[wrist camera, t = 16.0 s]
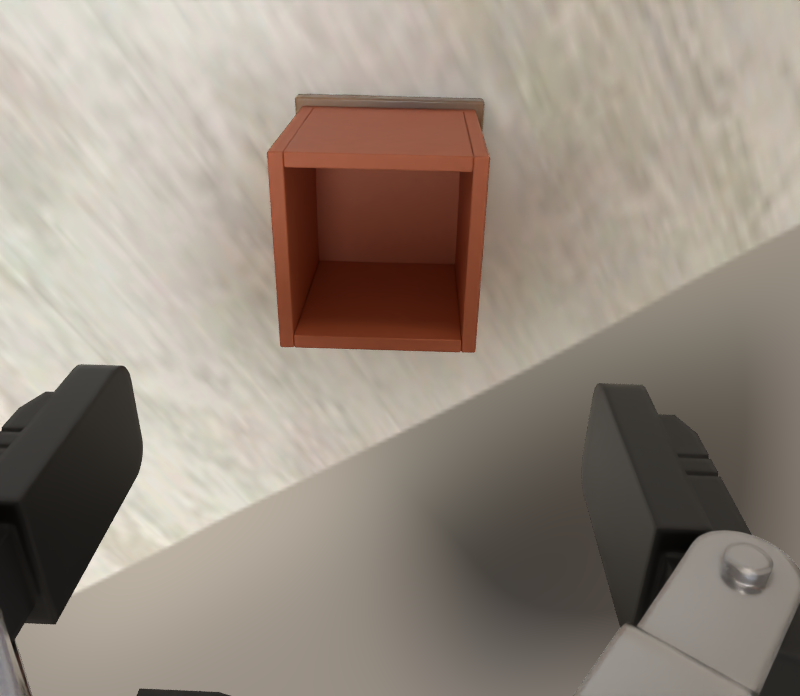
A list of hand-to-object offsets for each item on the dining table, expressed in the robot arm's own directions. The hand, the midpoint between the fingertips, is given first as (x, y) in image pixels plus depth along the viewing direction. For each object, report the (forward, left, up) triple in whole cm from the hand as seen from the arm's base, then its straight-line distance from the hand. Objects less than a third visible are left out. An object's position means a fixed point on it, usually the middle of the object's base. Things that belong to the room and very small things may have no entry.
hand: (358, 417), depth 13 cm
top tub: (0, 0, -14) cm, 14 cm away
